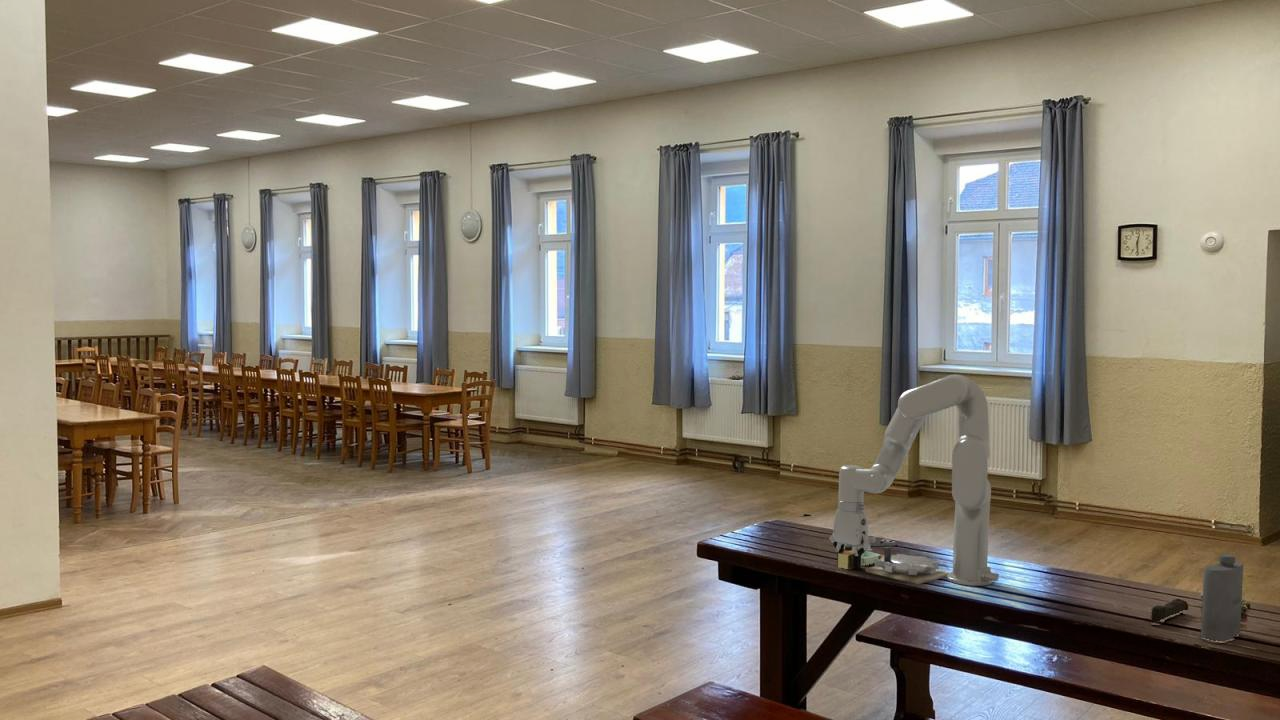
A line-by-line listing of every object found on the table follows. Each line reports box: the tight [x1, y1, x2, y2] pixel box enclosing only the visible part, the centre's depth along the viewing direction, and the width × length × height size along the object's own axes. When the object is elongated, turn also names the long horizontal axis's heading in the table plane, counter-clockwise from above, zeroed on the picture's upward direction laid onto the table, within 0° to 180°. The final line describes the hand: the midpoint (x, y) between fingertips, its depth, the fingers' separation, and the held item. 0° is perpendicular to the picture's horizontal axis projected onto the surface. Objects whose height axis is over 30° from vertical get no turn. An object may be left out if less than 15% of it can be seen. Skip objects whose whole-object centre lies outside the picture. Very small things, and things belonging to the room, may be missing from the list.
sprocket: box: [874, 546, 940, 575], centre depth 313 cm, size 18×18×6 cm
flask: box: [1200, 553, 1244, 641], centre depth 256 cm, size 15×6×20 cm, turn 132°
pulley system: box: [846, 536, 897, 553], centre depth 349 cm, size 27×5×15 cm
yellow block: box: [837, 550, 854, 570], centre depth 320 cm, size 4×6×5 cm, turn 132°
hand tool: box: [1150, 598, 1189, 623], centre depth 271 cm, size 19×4×5 cm, turn 131°
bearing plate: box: [865, 565, 950, 585], centre depth 313 cm, size 18×16×2 cm
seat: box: [861, 551, 882, 567], centre depth 327 cm, size 6×9×2 cm
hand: (848, 565), depth 320 cm, fingers open, 4 cm apart
